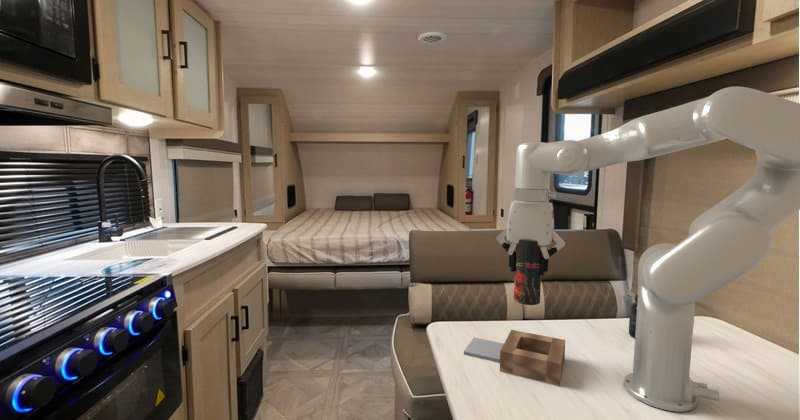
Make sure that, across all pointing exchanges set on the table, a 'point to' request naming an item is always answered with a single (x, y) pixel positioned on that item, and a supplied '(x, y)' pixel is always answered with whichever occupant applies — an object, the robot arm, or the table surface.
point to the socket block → (533, 357)
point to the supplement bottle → (633, 317)
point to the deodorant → (527, 273)
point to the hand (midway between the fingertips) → (527, 271)
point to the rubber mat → (484, 349)
